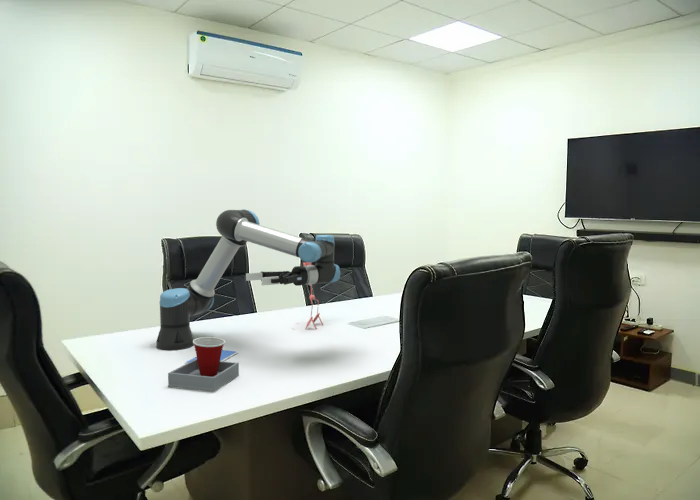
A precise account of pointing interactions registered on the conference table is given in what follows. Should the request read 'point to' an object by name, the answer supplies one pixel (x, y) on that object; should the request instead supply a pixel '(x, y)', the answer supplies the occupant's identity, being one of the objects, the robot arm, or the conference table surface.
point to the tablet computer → (224, 355)
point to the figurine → (311, 302)
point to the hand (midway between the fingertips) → (253, 279)
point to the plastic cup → (208, 354)
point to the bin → (192, 379)
